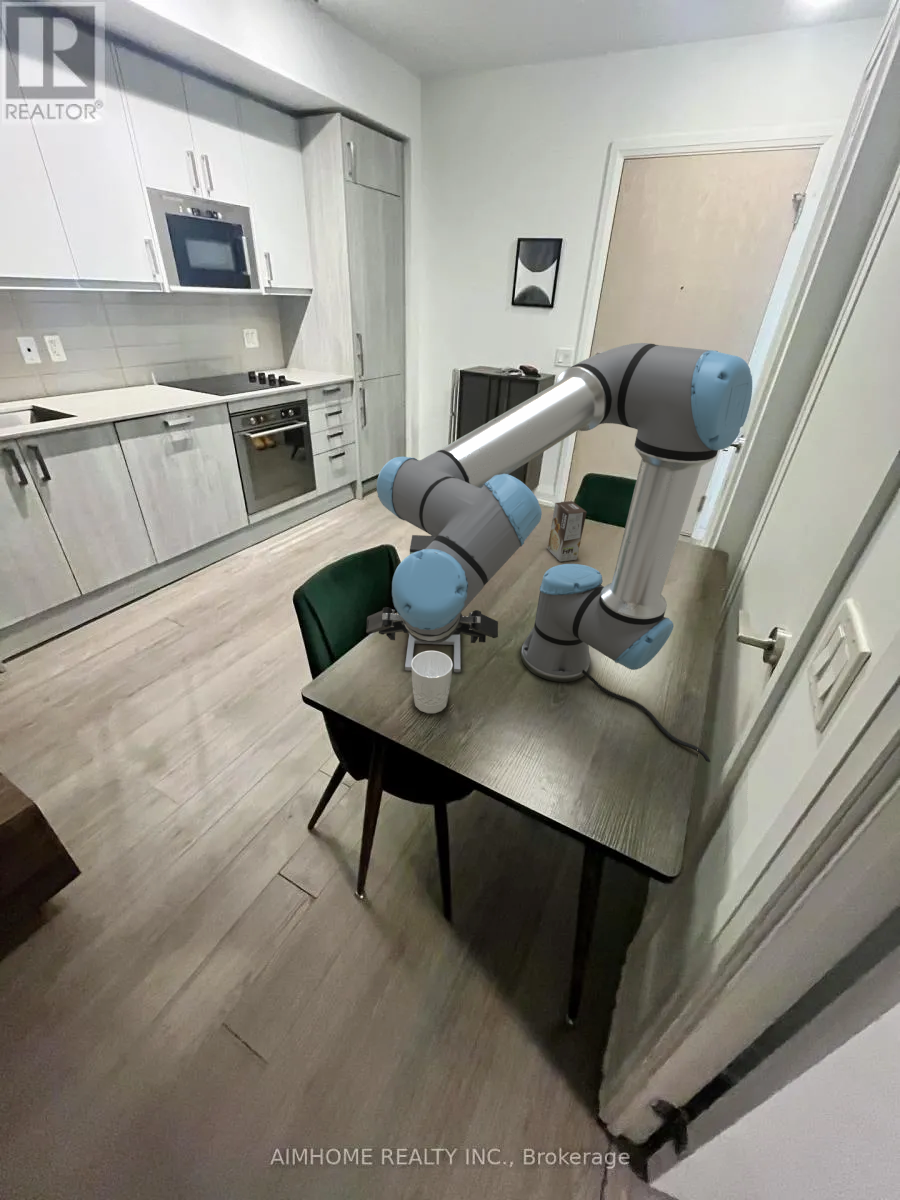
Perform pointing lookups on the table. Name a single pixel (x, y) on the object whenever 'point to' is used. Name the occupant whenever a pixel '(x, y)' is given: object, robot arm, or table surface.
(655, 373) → the robot arm
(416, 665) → the white cup
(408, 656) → the coffee machine
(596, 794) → the table surface
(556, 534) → the coffee box
